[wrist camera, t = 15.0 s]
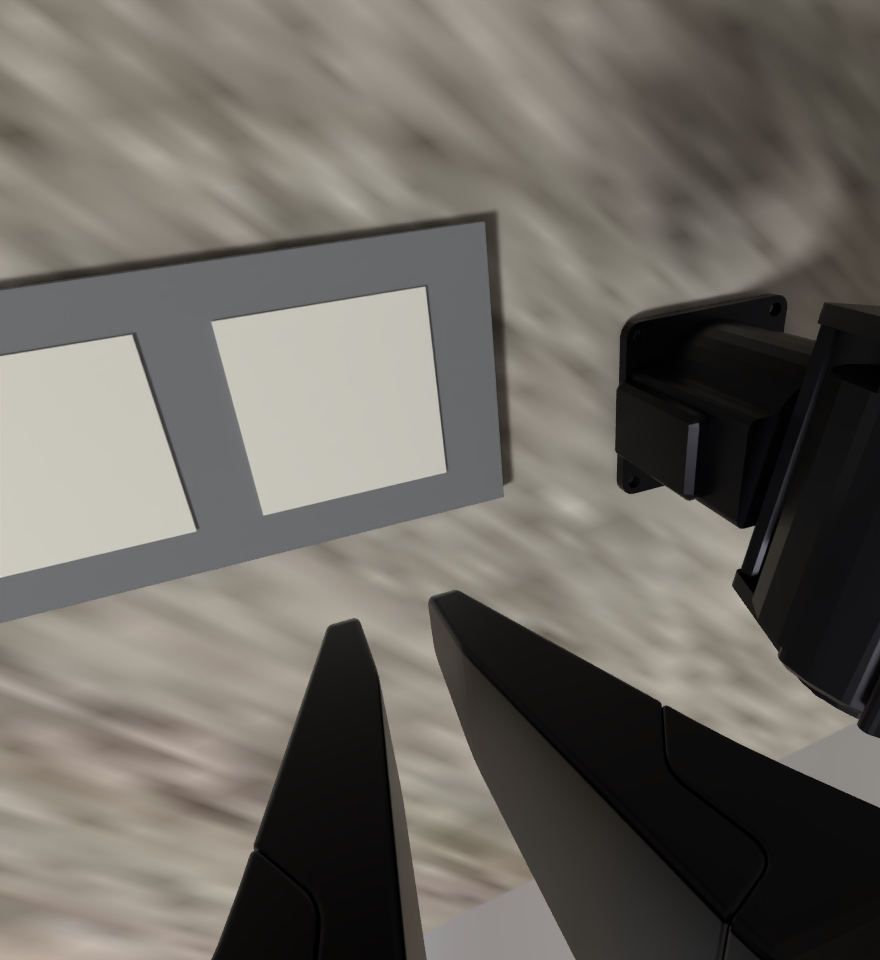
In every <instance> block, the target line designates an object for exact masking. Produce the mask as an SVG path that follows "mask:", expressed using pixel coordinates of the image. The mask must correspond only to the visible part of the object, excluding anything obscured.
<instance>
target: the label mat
mask: <svg viewBox="0 0 880 960" xmlns="http://www.w3.org/2000/svg"><path fill="white" fill-rule="evenodd" d="M501 497H504V492H503V478H502V463H501V449H500V434H499V420H498V405H497V391H496V376H495V362H494V347H493V332H492V318H491V303H490V289H489V274H488V260H487V245H486V231H485V221H472V222H465V223H458V224H451V225H444V226H437V227H430V228H423V229H415V230H408V231H401V232H394V233H387V234H380V235H373V236H366V237H359V238H352V239H345V240H338V241H331V242H324V243H317V244H310V245H303V246H296V247H289V248H282V249H275V250H268V251H260V252H253V253H246V254H239V255H232V256H225V257H218V258H211V259H204V260H197V261H190V262H183V263H176V264H169V265H162V266H155V267H148V268H141V269H134V270H127V271H120V272H113V273H105V274H98V275H91V276H84V277H77V278H70V279H63V280H56V281H49V282H42V283H35V284H28V285H21V286H14V287H7V288H0V623H3V622H7V621H11V620H15V619H19V618H23V617H27V616H31V615H35V614H39V613H43V612H47V611H51V610H55V609H59V608H63V607H67V606H71V605H75V604H79V603H82V602H86V601H90V600H94V599H98V598H102V597H106V596H110V595H114V594H118V593H122V592H126V591H130V590H134V589H138V588H142V587H146V586H150V585H154V584H158V583H162V582H166V581H170V580H174V579H178V578H182V577H186V576H190V575H194V574H198V573H202V572H206V571H210V570H214V569H218V568H222V567H226V566H230V565H234V564H238V563H242V562H246V561H250V560H254V559H258V558H262V557H266V556H270V555H274V554H278V553H282V552H286V551H290V550H294V549H298V548H302V547H306V546H310V545H314V544H318V543H322V542H326V541H330V540H334V539H338V538H342V537H346V536H350V535H354V534H358V533H362V532H366V531H370V530H374V529H378V528H382V527H386V526H390V525H394V524H398V523H402V522H405V521H409V520H413V519H417V518H421V517H425V516H429V515H433V514H437V513H441V512H445V511H449V510H453V509H457V508H461V507H465V506H469V505H473V504H477V503H481V502H485V501H489V500H493V499H497V498H501Z"/></svg>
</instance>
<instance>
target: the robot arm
mask: <svg viewBox="0 0 880 960" xmlns="http://www.w3.org/2000/svg"><path fill="white" fill-rule="evenodd" d="M772 305H773V308H772V311H771V312H769V310H770V307H771V306H772ZM786 311H787V301H786V299H785V298H784V297H783V296H781V295H776V294H765V295H759V296H754V297H749V298H744V299H738V300H733V301H728V302H723V303H718V304H712V305H707V306H702V307H697V308H691V309H686V310H681V311H676V312H671V313H665V314H660V315H655V316H650V317H644V318H639V319H634V320H631V321H629V322H628V323H627V324H626V325H624V327H623V329H622V331H621V335H620V367H619V386H618V388H617V393H616V439H615V451H616V453H617V484H618V486H619V487H620V488H621V489H622V490H623V491H625V492H626V493H629V494H634V493H638V492H642V491H646V490H650V489H653V488H657V487H661V486H666V487H668V488H669V489H671V490H672V491H674V492H675V493H677V494H678V495H680V496H681V497H683V498H684V499H686V500H689V501H690V500H694V499H696V500H697V501H699V502H700V503H702V504H703V505H705V506H706V507H708V508H709V509H711V510H712V511H714V512H715V513H717V514H719V515H720V516H722V517H723V518H725V519H726V520H728V521H729V522H731V523H732V524H734V525H735V526H737V527H738V528H740V529H744V528H748V527H751V526H755V528H754V531H753V534H752V537H751V540H750V543H749V546H748V549H747V552H746V555H745V558H744V561H743V564H742V567H741V569H738V570H737V571H736V574H735V577H734V580H733V584H732V586H733V588H734V589H735V591H736V592H737V594H738V595H739V597H740V598H741V599H742V601H743V602H744V604H745V605H746V606H747V608H748V609H749V611H750V612H751V614H752V615H753V616H754V618H755V619H756V621H757V622H758V623H759V625H760V626H761V628H762V629H763V631H764V632H765V633H766V635H767V636H768V638H769V639H770V640H771V642H772V643H773V645H774V646H775V648H776V649H777V650H778V658H779V659H780V661H781V662H782V663H783V665H784V666H785V667H786V668H787V669H788V670H789V671H790V672H792V673H793V674H794V675H796V676H797V677H798V679H799V680H800V681H801V682H802V683H803V684H804V685H805V686H806V687H808V688H809V689H810V690H811V691H812V692H813V693H814V694H815V695H816V696H818V697H819V698H821V699H823V700H825V701H826V702H828V703H829V704H831V705H832V706H834V707H835V708H837V709H839V710H841V711H843V712H845V713H847V714H849V715H851V716H853V717H855V718H857V719H859V720H858V723H857V725H858V727H859V728H860V729H861V730H862V731H863V732H865V733H867V734H869V735H871V736H875V737H878V738H880V306H870V305H856V304H842V303H828V302H824V305H823V308H822V311H821V314H820V317H819V320H818V323H819V324H821V327H820V330H819V333H818V336H817V339H816V341H814V340H810V339H806V338H802V337H799V336H795V335H791V334H787V333H783V332H784V325H785V318H786ZM637 330H639V331H640V334H639V337H638V339H637V340H635V341H634V340H633V336H634V333H635V332H636V331H637ZM633 476H634V479H633V481H632V482H631V483H629V480H630V479H631V477H633ZM628 483H629V484H628ZM428 607H429V614H430V621H431V629H432V636H433V643H434V648H435V652H436V656H437V659H438V662H439V665H440V668H441V671H442V673H443V676H444V679H445V682H446V684H447V687H448V690H449V693H450V695H451V698H452V701H453V704H454V706H455V709H456V712H457V715H458V717H459V720H460V723H461V726H462V728H463V731H464V734H465V737H466V739H467V742H468V745H469V747H470V750H471V752H472V755H473V757H474V760H475V762H476V764H477V766H478V768H479V770H480V772H481V774H482V777H483V778H484V780H485V782H486V784H487V786H488V788H489V790H490V792H491V794H492V796H493V798H494V800H495V802H496V804H497V806H498V808H499V810H500V812H501V814H502V816H503V818H504V820H505V822H506V824H507V826H508V828H509V830H510V832H511V834H512V835H513V837H514V839H515V841H516V843H517V845H518V847H519V849H520V851H521V853H522V855H523V857H524V859H525V861H526V863H527V865H528V867H529V869H530V871H531V873H532V875H533V877H534V879H535V881H536V883H537V884H538V887H539V889H540V891H541V892H542V894H543V896H544V898H545V900H546V902H547V904H548V906H549V908H550V910H551V912H552V914H553V916H554V918H555V920H556V922H557V924H558V926H559V928H560V929H561V932H562V934H563V936H564V937H565V940H566V941H567V944H568V945H569V948H570V950H571V951H572V953H573V955H574V957H575V959H576V960H880V808H879V807H877V806H874V805H872V804H870V803H868V802H865V801H863V800H861V799H858V798H856V797H854V796H852V795H850V794H848V793H845V792H843V791H841V790H838V789H836V788H834V787H832V786H830V785H827V784H825V783H823V782H821V781H818V780H816V779H814V778H812V777H809V776H807V775H805V774H803V773H800V772H798V771H796V770H794V769H792V768H789V767H787V766H785V765H783V764H781V763H779V762H777V761H775V760H772V759H770V758H768V757H766V756H764V755H762V754H760V753H758V752H755V751H753V750H751V749H749V748H747V747H745V746H743V745H741V744H739V743H737V742H735V741H733V740H731V739H729V738H727V737H725V736H723V735H721V734H719V733H717V732H716V731H714V730H712V729H710V728H708V727H706V726H704V725H702V724H700V723H698V722H696V721H694V720H693V719H691V718H689V717H687V716H685V715H684V714H682V713H680V712H678V711H676V710H675V709H673V708H671V707H669V706H663V707H662V704H661V703H660V702H659V701H658V700H656V699H654V698H652V697H650V696H649V695H647V694H645V693H643V692H641V691H640V690H638V689H636V688H634V687H632V686H631V685H629V684H627V683H625V682H623V681H622V680H620V679H618V678H616V677H614V676H612V675H611V674H609V673H607V672H605V671H603V670H602V669H600V668H598V667H596V666H594V665H593V664H591V663H589V662H587V661H585V660H583V659H582V658H580V657H578V656H576V655H574V654H573V653H571V652H569V651H567V650H565V649H564V648H562V647H560V646H558V645H556V644H554V643H553V642H551V641H549V640H547V639H545V638H544V637H542V636H540V635H538V634H536V633H535V632H533V631H531V630H529V629H527V628H526V627H524V626H522V625H520V624H518V623H516V622H515V621H513V620H511V619H509V618H507V617H506V616H504V615H502V614H500V613H498V612H497V611H495V610H493V609H491V608H489V607H487V606H486V605H484V604H482V603H480V602H478V601H477V600H475V599H473V598H471V597H469V596H468V595H466V594H464V593H462V592H460V591H457V590H452V591H449V592H445V593H442V594H438V595H435V596H432V597H431V598H430V599H429V602H428ZM211 960H427V959H426V953H425V946H424V939H423V932H422V925H421V918H420V911H419V905H418V898H417V891H416V884H415V877H414V870H413V864H412V857H411V850H410V843H409V836H408V829H407V823H406V816H405V809H404V802H403V797H402V791H401V785H400V780H399V775H398V770H397V765H396V760H395V755H394V750H393V745H392V740H391V735H390V730H389V725H388V720H387V715H386V710H385V705H384V700H383V695H382V690H381V685H380V680H379V676H378V672H377V669H376V665H375V663H374V660H373V657H372V654H371V651H370V648H369V646H368V643H367V640H366V637H365V634H364V632H363V629H362V626H361V623H360V621H359V620H358V619H356V618H353V619H349V620H346V621H342V622H339V623H335V624H332V625H330V626H329V627H328V628H327V630H326V633H325V636H324V639H323V642H322V645H321V648H320V651H319V654H318V657H317V659H316V662H315V665H314V668H313V671H312V674H311V677H310V680H309V683H308V686H307V689H306V692H305V695H304V698H303V701H302V704H301V707H300V710H299V713H298V716H297V719H296V722H295V725H294V727H293V730H292V733H291V736H290V739H289V742H288V745H287V748H286V751H285V754H284V757H283V760H282V763H281V766H280V769H279V772H278V775H277V778H276V781H275V784H274V787H273V790H272V793H271V795H270V798H269V801H268V804H267V807H266V810H265V813H264V816H263V819H262V822H261V825H260V828H259V831H258V834H257V837H256V840H255V843H254V851H253V852H252V853H251V854H250V857H249V859H248V862H247V865H246V868H245V871H244V874H243V877H242V880H241V883H240V886H239V889H238V892H237V895H236V897H235V900H234V903H233V905H232V908H231V911H230V913H229V916H228V919H227V921H226V924H225V927H224V929H223V932H222V935H221V937H220V940H219V943H218V946H217V948H216V950H215V953H214V955H213V957H212V959H211Z"/></svg>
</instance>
